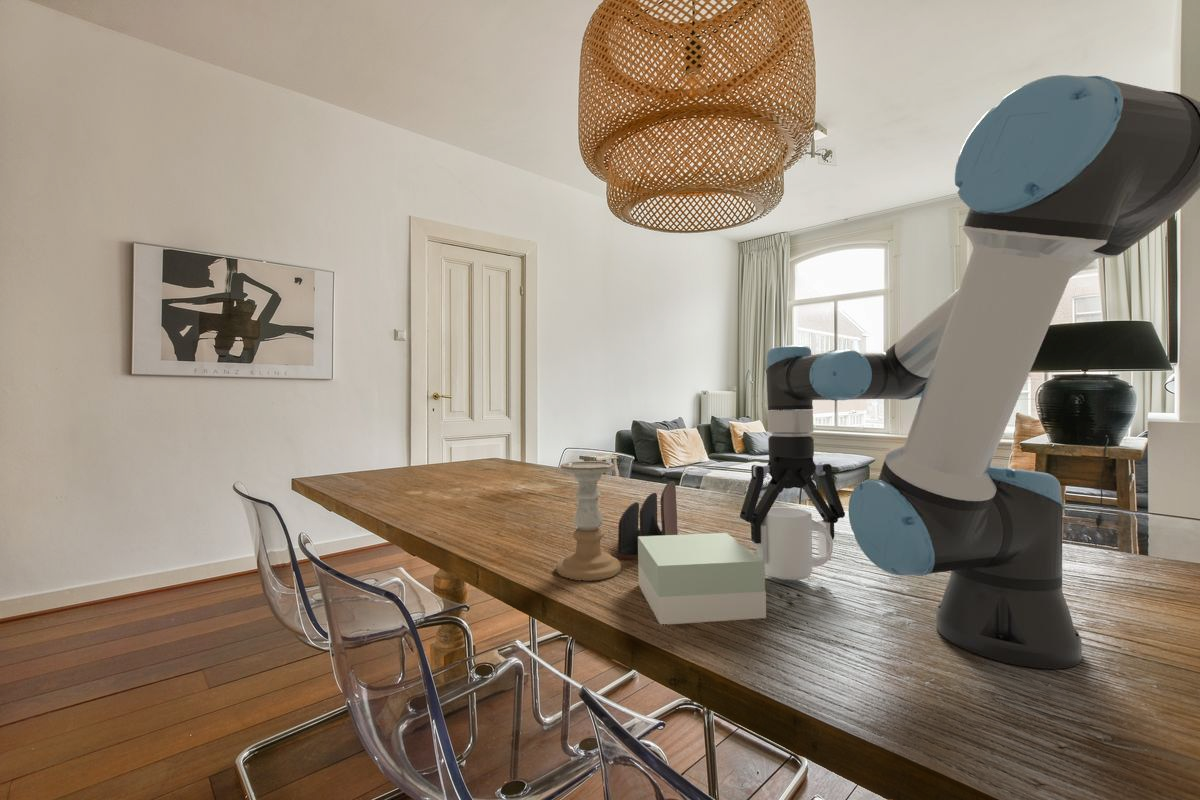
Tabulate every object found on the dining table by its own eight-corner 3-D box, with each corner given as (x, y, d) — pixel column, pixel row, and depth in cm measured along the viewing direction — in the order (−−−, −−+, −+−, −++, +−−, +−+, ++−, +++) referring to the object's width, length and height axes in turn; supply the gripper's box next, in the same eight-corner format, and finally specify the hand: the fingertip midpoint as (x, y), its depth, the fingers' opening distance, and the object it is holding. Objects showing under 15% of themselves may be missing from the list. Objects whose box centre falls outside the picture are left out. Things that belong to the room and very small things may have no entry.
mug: (837, 584, 85) (836, 519, 85) (760, 578, 89) (760, 515, 89) (829, 568, 93) (828, 509, 94) (760, 563, 97) (759, 506, 97)
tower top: (764, 591, 77) (764, 560, 76) (658, 597, 75) (658, 565, 75) (726, 558, 92) (726, 532, 92) (638, 562, 91) (637, 536, 91)
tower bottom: (766, 621, 77) (765, 590, 77) (660, 628, 75) (659, 597, 75) (726, 583, 93) (726, 557, 93) (638, 587, 91) (638, 562, 91)
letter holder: (677, 537, 122) (677, 477, 122) (666, 563, 103) (665, 492, 103) (636, 534, 124) (635, 475, 124) (617, 559, 105) (616, 490, 105)
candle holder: (622, 581, 93) (621, 468, 92) (553, 582, 93) (552, 469, 92) (619, 559, 105) (618, 459, 105) (558, 560, 105) (557, 460, 105)
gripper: (840, 432, 97) (843, 550, 96) (719, 435, 94) (721, 557, 94) (865, 434, 89) (869, 562, 89) (734, 437, 86) (737, 570, 86)
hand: (793, 560), depth 91 cm, fingers closed on mug, 11 cm apart
